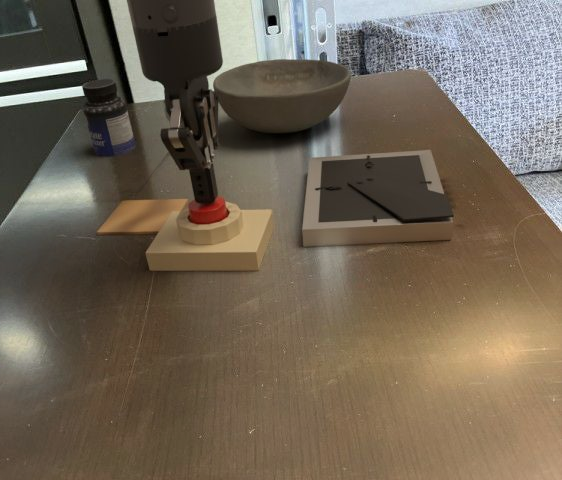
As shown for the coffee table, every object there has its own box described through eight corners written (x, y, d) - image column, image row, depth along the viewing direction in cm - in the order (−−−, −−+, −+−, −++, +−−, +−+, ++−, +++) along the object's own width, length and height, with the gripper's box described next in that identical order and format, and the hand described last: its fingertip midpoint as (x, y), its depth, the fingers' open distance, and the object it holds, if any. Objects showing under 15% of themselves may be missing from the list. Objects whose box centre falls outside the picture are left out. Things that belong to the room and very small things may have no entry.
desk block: (149, 271, 67) (141, 237, 64) (176, 228, 74) (169, 196, 72) (258, 270, 65) (254, 235, 62) (274, 226, 72) (271, 193, 70)
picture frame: (451, 240, 66) (429, 165, 82) (453, 215, 64) (431, 144, 80) (303, 247, 68) (310, 173, 84) (301, 223, 66) (308, 152, 82)
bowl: (228, 112, 108) (221, 62, 103) (348, 101, 107) (347, 50, 102) (213, 156, 92) (203, 99, 87) (355, 145, 90) (354, 86, 85)
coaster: (97, 235, 75) (96, 232, 75) (123, 203, 82) (122, 200, 82) (168, 234, 73) (167, 231, 73) (188, 201, 80) (188, 198, 80)
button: (186, 227, 66) (183, 211, 65) (196, 210, 69) (193, 195, 68) (222, 226, 65) (220, 211, 64) (231, 210, 68) (228, 194, 67)
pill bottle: (91, 162, 95) (69, 85, 88) (126, 150, 98) (107, 74, 91) (110, 171, 91) (88, 92, 84) (146, 158, 94) (127, 80, 87)
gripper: (156, 4, 61) (189, 177, 72) (106, 35, 51) (154, 230, 62) (230, -2, 59) (253, 175, 70) (194, 28, 49) (227, 228, 60)
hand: (207, 200), depth 66 cm, fingers closed
